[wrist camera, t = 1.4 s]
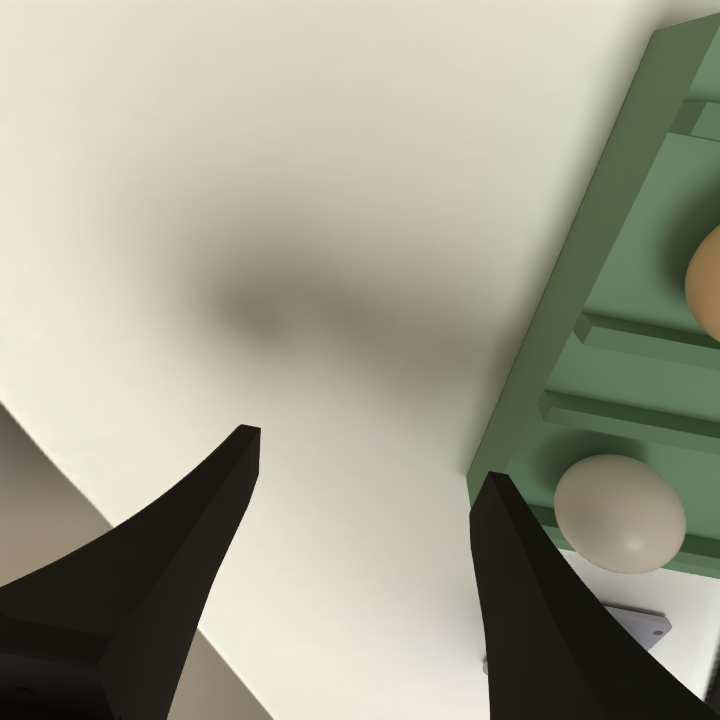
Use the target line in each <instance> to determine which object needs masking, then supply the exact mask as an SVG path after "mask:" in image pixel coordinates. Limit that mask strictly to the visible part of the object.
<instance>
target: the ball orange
mask: <svg viewBox="0 0 720 720" xmlns="http://www.w3.org/2000/svg"><path fill="white" fill-rule="evenodd" d="M685 295H686V300H687V303H688V307H689V309H690V311H691V313H692V315H693V317H694V319H695V320H696V321H697V323H698V324H699V325H700V327H701V328H702V329H703V330H704V331H705V332H707V333H708V334H709V335H710V336H711V337H712V338H714V339H716V340H717V341H719V342H720V225H719V226H717V227H716V228H715V229H714V230H713V231H712V232H711V233H710V234H709V235H708V236H707V237H706V238H705V239H704V240H703V241H702V243H701V244H700V245H699V247H698V248H697V250H696V251H695V253H694V255H693V257H692V259H691V261H690V264H689V266H688V269H687V273H686V278H685Z"/></svg>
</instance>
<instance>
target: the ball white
mask: <svg viewBox="0 0 720 720" xmlns="http://www.w3.org/2000/svg"><path fill="white" fill-rule="evenodd" d="M554 510H555V516H556V520H557V523H558V526H559V528H560V530H561V532H562V534H563V535H564V537H565V539H566V540H567V541H568V543H569V544H570V545H571V546H572V547H573V548H574V550H576V551H577V552H578V553H579V554H580V555H581V556H582V557H584V558H585V559H587V560H588V561H590V562H591V563H593V564H595V565H597V566H599V567H601V568H603V569H606V570H609V571H613V572H617V573H624V574H640V573H646V572H650V571H653V570H656V569H658V568H660V567H662V566H663V565H665V564H666V563H668V562H669V561H670V560H671V559H672V558H673V557H674V556H675V555H676V554H677V552H678V551H679V549H680V547H681V545H682V543H683V541H684V537H685V533H686V517H685V512H684V508H683V505H682V503H681V500H680V498H679V496H678V494H677V493H676V491H675V490H674V488H673V487H672V485H671V484H670V483H669V482H668V481H667V480H666V479H665V478H664V477H663V476H662V475H661V474H660V473H659V472H657V471H656V470H655V469H653V468H652V467H650V466H649V465H647V464H645V463H643V462H641V461H639V460H636V459H634V458H630V457H627V456H623V455H616V454H601V455H595V456H590V457H587V458H585V459H582V460H580V461H578V462H577V463H575V464H574V465H572V466H571V467H570V468H569V469H568V470H567V471H566V472H565V473H564V474H563V476H562V477H561V479H560V481H559V483H558V485H557V488H556V491H555V497H554Z"/></svg>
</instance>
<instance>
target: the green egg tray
mask: <svg viewBox="0 0 720 720" xmlns="http://www.w3.org/2000/svg"><path fill="white" fill-rule="evenodd" d="M719 225H720V13H716V14H713V15H710V16H706V17H703V18H699V19H696V20H693V21H689V22H686V23H682V24H679V25H675V26H672V27H669V28H665V29H662V30H658V31H655V32H654V33H653V35H652V38H651V40H650V42H649V45H648V47H647V50H646V52H645V54H644V57H643V59H642V61H641V64H640V66H639V69H638V71H637V73H636V76H635V78H634V80H633V83H632V85H631V88H630V90H629V92H628V95H627V97H626V99H625V102H624V104H623V107H622V109H621V111H620V114H619V116H618V118H617V121H616V123H615V126H614V128H613V130H612V133H611V135H610V137H609V140H608V142H607V145H606V147H605V149H604V152H603V154H602V156H601V159H600V161H599V164H598V166H597V168H596V171H595V173H594V175H593V178H592V180H591V183H590V185H589V187H588V190H587V192H586V194H585V197H584V199H583V202H582V204H581V206H580V209H579V211H578V213H577V216H576V218H575V221H574V223H573V225H572V228H571V230H570V232H569V235H568V237H567V240H566V242H565V244H564V247H563V249H562V251H561V254H560V256H559V259H558V261H557V263H556V266H555V268H554V270H553V273H552V275H551V278H550V280H549V282H548V285H547V287H546V289H545V292H544V294H543V297H542V299H541V301H540V304H539V306H538V308H537V311H536V313H535V316H534V318H533V320H532V323H531V325H530V327H529V330H528V332H527V335H526V337H525V339H524V342H523V344H522V346H521V349H520V351H519V354H518V356H517V358H516V361H515V363H514V365H513V368H512V370H511V373H510V375H509V377H508V380H507V382H506V384H505V387H504V389H503V392H502V394H501V396H500V399H499V401H498V403H497V406H496V408H495V411H494V413H493V415H492V418H491V420H490V422H489V425H488V427H487V430H486V432H485V434H484V437H483V439H482V441H481V444H480V446H479V449H478V451H477V453H476V456H475V458H474V460H473V463H472V465H471V468H470V470H469V472H468V475H467V477H466V479H467V486H468V492H469V499H470V506H471V509H472V506H473V504H474V502H475V500H476V498H477V496H478V493H479V491H480V489H481V487H482V485H483V482H484V480H485V478H486V476H487V474H488V472H489V471H492V472H498V473H503V474H508V475H509V476H510V478H511V480H512V481H513V483H514V484H515V486H516V487H517V489H518V491H519V492H520V494H521V495H522V497H523V498H524V500H525V502H526V503H527V505H528V506H529V508H530V509H531V511H532V512H533V514H534V515H535V517H536V519H537V520H538V522H539V523H540V525H541V526H542V527H543V529H544V530H545V532H546V533H547V535H548V536H549V538H550V539H551V541H552V542H553V543H554V545H555V546H556V548H560V549H565V550H570V551H576V550H574V548H573V547H572V546H571V545H570V544H569V543H568V541H567V540H566V539H565V537H564V535H563V534H562V532H561V530H560V528H559V526H558V523H557V520H556V516H555V510H554V497H555V491H556V488H557V485H558V483H559V481H560V479H561V477H562V476H563V474H564V473H565V472H566V471H567V470H568V469H569V468H570V467H571V466H572V465H574V464H575V463H577V462H578V461H580V460H582V459H585V458H587V457H590V456H595V455H601V454H616V455H623V456H627V457H630V458H634V459H636V460H639V461H641V462H643V463H645V464H647V465H649V466H650V467H652V468H653V469H655V470H656V471H657V472H659V473H660V474H661V475H662V476H663V477H664V478H665V479H666V480H667V481H668V482H669V483H670V484H671V485H672V487H673V488H674V490H675V491H676V493H677V494H678V496H679V498H680V500H681V503H682V505H683V508H684V512H685V517H686V533H685V537H684V541H683V543H682V545H681V547H680V549H679V551H678V552H677V554H676V555H675V556H674V557H673V558H672V559H671V560H670V561H669V562H668V563H666V564H665V565H663V566H662V567H660V568H665V569H670V570H675V571H680V572H686V573H691V574H696V575H701V576H707V577H712V578H717V579H720V342H719V341H717V340H716V339H714V338H712V337H711V336H710V335H709V334H708V333H707V332H705V331H704V330H703V329H702V328H701V327H700V325H699V324H698V323H697V321H696V320H695V319H694V317H693V315H692V313H691V311H690V309H689V307H688V303H687V300H686V295H685V278H686V273H687V269H688V266H689V264H690V261H691V259H692V257H693V255H694V253H695V251H696V250H697V248H698V247H699V245H700V244H701V243H702V241H703V240H704V239H705V238H706V237H707V236H708V235H709V234H710V233H711V232H712V231H713V230H714V229H715V228H716V227H717V226H719ZM576 552H577V551H576Z"/></svg>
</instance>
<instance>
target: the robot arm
mask: <svg viewBox="0 0 720 720" xmlns="http://www.w3.org/2000/svg"><path fill="white" fill-rule="evenodd" d="M260 434H261V428H259V427H253V426H248V425H243V424H241V425H239V426H238V427H237V428H236V429H235V430H234V431H233V432H232V433H231V434H230V435H229V436H228V437H227V438H226V439H225V440H224V441H223V442H222V443H221V444H220V445H219V446H218V447H217V448H216V449H215V450H214V451H213V452H212V453H211V454H210V455H209V456H208V457H207V458H206V459H205V460H203V461H202V462H201V463H200V464H199V465H198V466H197V467H196V468H195V469H194V470H192V471H191V472H190V473H189V474H188V475H186V476H185V477H184V478H183V479H182V480H180V481H179V482H178V483H177V484H176V485H174V486H173V487H172V488H171V489H169V490H168V491H167V492H166V493H164V494H163V495H162V496H160V497H159V498H158V499H156V500H155V501H154V502H152V503H151V504H149V505H148V506H147V507H145V508H144V509H142V510H141V511H140V512H138V513H137V514H135V515H134V516H132V517H131V518H129V519H127V520H126V521H124V522H123V523H121V524H120V525H118V526H117V527H115V528H114V529H112V530H110V531H109V532H107V533H105V534H104V535H102V536H100V537H99V538H97V539H95V540H93V541H91V542H90V543H88V544H86V545H84V546H82V547H81V548H79V549H78V550H75V551H73V552H72V553H70V554H68V555H66V556H65V557H63V558H61V559H59V560H57V561H55V562H53V563H51V564H49V565H47V566H45V567H43V568H40V569H38V570H36V571H34V572H32V573H30V574H28V575H26V576H24V577H22V578H20V579H17V580H15V581H13V582H11V583H9V584H6V585H4V586H2V587H0V720H167V716H168V713H169V710H170V707H171V704H172V701H173V697H174V694H175V691H176V688H177V685H178V682H179V679H180V676H181V673H182V670H183V667H184V664H185V661H186V658H187V655H188V652H189V649H190V646H191V643H192V640H193V637H194V634H195V632H196V629H197V626H198V623H199V620H200V617H201V614H202V612H203V609H204V606H205V603H206V600H207V598H208V595H209V592H210V589H211V586H212V584H213V582H214V579H215V577H216V574H217V572H218V570H219V567H220V565H221V563H222V561H223V559H224V557H225V555H226V552H227V550H228V548H229V546H230V544H231V542H232V539H233V537H234V535H235V533H236V531H237V529H238V527H239V524H240V522H241V520H242V518H243V516H244V513H245V511H246V509H247V507H248V505H249V502H250V499H251V496H252V493H253V490H254V487H255V484H256V481H257V478H258V475H259V457H260ZM469 519H470V542H471V551H472V557H473V564H474V570H475V576H476V582H477V587H478V593H479V599H480V605H481V611H482V617H483V624H484V631H485V640H486V654H487V660H486V662H485V663H484V665H483V671H484V673H485V674H487V675H488V684H489V702H490V720H720V716H719V715H718V714H717V713H716V712H714V711H713V710H712V709H711V708H710V707H709V706H707V705H706V704H705V703H704V702H703V701H702V700H700V699H699V698H698V697H697V696H696V695H694V694H693V693H692V692H691V691H690V690H689V689H687V688H686V687H685V686H684V685H683V684H682V683H681V682H679V681H678V680H677V679H676V678H675V677H674V676H673V675H672V674H671V673H670V672H669V671H668V670H666V669H665V668H664V667H663V666H662V665H661V664H660V663H659V662H658V661H657V660H656V659H655V658H654V657H653V656H651V655H650V654H649V653H648V652H647V651H648V650H649V649H650V648H651V647H652V646H654V645H655V644H656V643H657V642H658V641H659V640H660V639H661V638H662V637H663V636H664V635H666V634H667V633H668V632H669V631H670V630H671V628H672V625H671V623H670V621H669V620H668V619H667V618H664V617H660V616H654V615H649V614H644V613H639V612H634V611H628V610H623V609H618V608H613V607H607V606H603V605H602V604H601V603H600V601H599V600H598V599H597V598H596V597H595V596H594V594H593V593H592V592H591V591H590V590H589V588H588V587H587V586H586V585H585V584H584V583H583V581H582V580H581V579H580V578H579V576H578V575H577V574H576V573H575V571H574V570H573V569H572V568H571V566H570V565H569V564H568V562H567V561H566V560H565V558H564V557H563V556H562V554H561V553H560V552H559V550H558V549H557V548H556V546H555V545H554V543H553V542H552V541H551V539H550V538H549V536H548V535H547V533H546V532H545V530H544V529H543V527H542V526H541V525H540V523H539V522H538V520H537V519H536V517H535V515H534V514H533V512H532V511H531V509H530V508H529V506H528V505H527V503H526V502H525V500H524V498H523V497H522V495H521V494H520V492H519V491H518V489H517V487H516V486H515V484H514V483H513V481H512V480H511V478H510V476H509V475H508V474H503V473H498V472H492V471H489V472H488V474H487V476H486V478H485V480H484V482H483V485H482V487H481V489H480V491H479V493H478V496H477V498H476V500H475V502H474V504H473V506H472V509H471V511H470V513H469Z"/></svg>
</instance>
